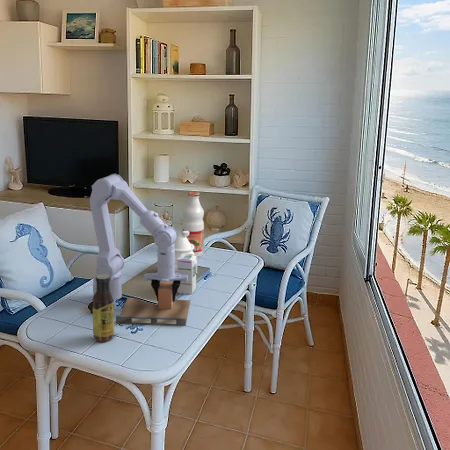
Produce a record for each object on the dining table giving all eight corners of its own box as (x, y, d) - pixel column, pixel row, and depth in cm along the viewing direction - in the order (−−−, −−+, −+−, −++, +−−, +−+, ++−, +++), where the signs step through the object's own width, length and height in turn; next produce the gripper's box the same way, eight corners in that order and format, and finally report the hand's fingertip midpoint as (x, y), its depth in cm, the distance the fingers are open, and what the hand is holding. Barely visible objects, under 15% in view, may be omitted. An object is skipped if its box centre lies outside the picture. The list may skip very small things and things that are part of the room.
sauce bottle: (103, 345, 146) (101, 283, 140) (88, 338, 149) (85, 277, 143) (119, 335, 151) (117, 275, 145) (104, 330, 154) (102, 270, 148)
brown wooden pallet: (116, 326, 156) (115, 316, 155) (127, 301, 174) (127, 292, 173) (185, 329, 156) (185, 319, 155) (190, 303, 173) (190, 294, 172)
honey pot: (200, 269, 203) (201, 227, 198) (192, 282, 191) (193, 237, 186) (169, 266, 205) (169, 225, 200) (160, 278, 193) (160, 234, 188)
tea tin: (158, 308, 166) (158, 289, 164) (161, 300, 172) (160, 281, 170) (171, 309, 166) (171, 290, 164) (173, 300, 172) (173, 282, 170)
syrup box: (192, 297, 178) (193, 260, 174) (176, 295, 179) (176, 258, 175) (196, 291, 183) (197, 254, 179) (181, 289, 184) (181, 252, 180)
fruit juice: (207, 253, 221) (209, 192, 213) (193, 259, 214) (194, 196, 206) (192, 248, 227) (193, 189, 218) (177, 254, 220) (178, 192, 211)
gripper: (142, 266, 161) (142, 304, 165) (186, 268, 161) (186, 306, 165) (145, 259, 168) (146, 295, 172) (188, 260, 168) (188, 297, 172)
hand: (166, 300), depth 169 cm, fingers closed on tea tin, 4 cm apart
